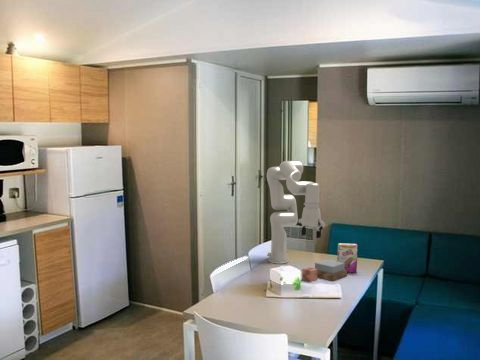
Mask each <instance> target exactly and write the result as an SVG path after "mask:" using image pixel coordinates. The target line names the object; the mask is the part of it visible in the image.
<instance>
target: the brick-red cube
mask: <svg viewBox="0 0 480 360" xmlns="http://www.w3.org/2000/svg"><path fill="white" fill-rule="evenodd" d="M317 271H318V269H315V267H310V266H307V267H304V268H302V269H301V280H303V281H307V282H314V281H317V280H318V277H317Z"/></svg>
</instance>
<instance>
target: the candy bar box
mask: <svg viewBox="0 0 480 360" xmlns="http://www.w3.org/2000/svg"><path fill="white" fill-rule="evenodd" d="M358 249H359V246H358V244H357V243H345V242H344V243H343V242H342V243H341V242H340V243H339V242H338V243H337V261H338V262H342V263H345V270H347V273H352V274H353V273H355V274H356V273H357V272H358V271H357V270H358V269H357V268H358V254H359V253H358Z"/></svg>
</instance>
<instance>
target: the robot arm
mask: <svg viewBox="0 0 480 360" xmlns="http://www.w3.org/2000/svg"><path fill="white" fill-rule="evenodd" d="M303 173H304V164H303V163H302V162H301V161H299V160H283V161H282V162H281V163H280V164H279V166H271V167H269V168H268V169H267V172H266V181H267V184H268V186H269V195H270V203H271V204H270V205H271V208H272V209H273V210H277V211H276V212H273V213H271V215H270V217H269V218H270V220H269V221H270V227H271V228H270V229H271V241H270V242H271V245H270V247H271V248H270V249H271V251H270V252H268V253H267V254H266V256H267V257H269V258H268V262H269V263H272V264H276V265H279V264H281V265H284V264H287V263H289V259H288V258H287V240H288V239H287V238H288V237H287V235H288V234H287V232H286V230H285V228H287V227H295V226H297V224H298V225H299V226H300V228H301V236H306V235H307V227H308V228H309V227H310V228H315V229H316V235H315V236H316V237H315V238H316V239H320V238H321V237H322V231H323V229H324V228H325V227H326V223H325V222H324V221H323V220H322V218H321V217H322V215H321V209H320V208H319V207H320V185H319V183H318V182H313V181H310V180H309V181H308V180H307V181H305V180H304V181H303V180H302V179H301V178H302V174H303ZM300 180H302V181H300ZM280 181H286V188H287V191H289V192H290V194H288V193H287V194H285V193H284V186H283V185H282V183H281V182H280ZM295 196H305V197H304V202H303V206H304V207H303V210H302V212H301V213H302V214H301V217H300V218H298V207H297V200H296V198H295ZM279 210H280V211H279ZM281 210H283V211H281ZM284 210H286V211H284Z"/></svg>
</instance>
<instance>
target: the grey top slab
mask: <svg viewBox="0 0 480 360" xmlns="http://www.w3.org/2000/svg"><path fill="white" fill-rule="evenodd" d="M314 268H315V269H318V271H322V272H326V273H330V274H335V273H337V272H340V271H343V270H345V263H342V262H338V261H336V260H332V259H323V260H320V261H317V262H315V263H314Z"/></svg>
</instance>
